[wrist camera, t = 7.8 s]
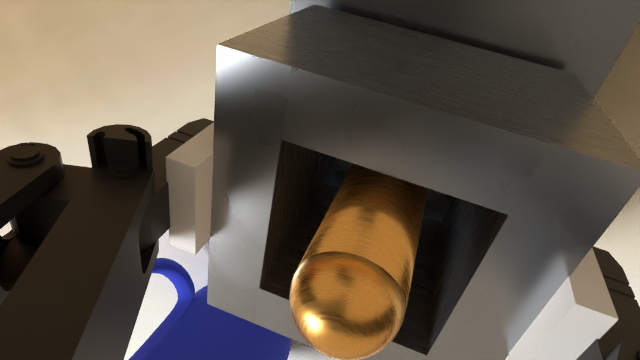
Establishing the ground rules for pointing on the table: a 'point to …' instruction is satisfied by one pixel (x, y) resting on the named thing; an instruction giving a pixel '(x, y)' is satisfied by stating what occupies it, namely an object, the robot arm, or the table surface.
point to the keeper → (414, 200)
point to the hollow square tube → (409, 173)
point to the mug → (206, 328)
